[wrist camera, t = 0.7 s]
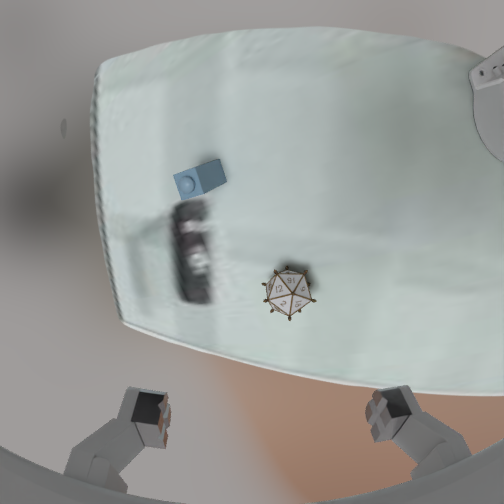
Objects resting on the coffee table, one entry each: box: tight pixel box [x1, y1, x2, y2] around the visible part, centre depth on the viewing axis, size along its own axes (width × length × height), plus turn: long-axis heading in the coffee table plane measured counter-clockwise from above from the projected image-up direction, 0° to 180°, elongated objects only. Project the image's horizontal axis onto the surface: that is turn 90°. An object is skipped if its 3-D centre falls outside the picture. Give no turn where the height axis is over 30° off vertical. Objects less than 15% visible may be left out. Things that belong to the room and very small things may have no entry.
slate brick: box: [173, 159, 227, 200], centre depth 44 cm, size 4×4×9 cm
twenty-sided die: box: [261, 266, 317, 321], centre depth 48 cm, size 9×8×10 cm
